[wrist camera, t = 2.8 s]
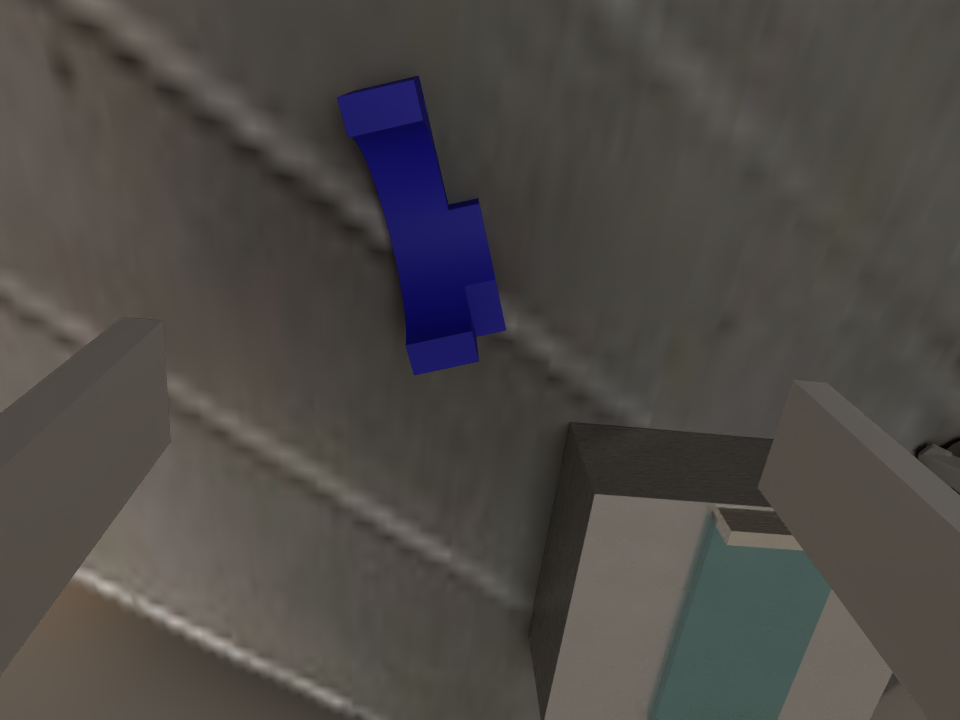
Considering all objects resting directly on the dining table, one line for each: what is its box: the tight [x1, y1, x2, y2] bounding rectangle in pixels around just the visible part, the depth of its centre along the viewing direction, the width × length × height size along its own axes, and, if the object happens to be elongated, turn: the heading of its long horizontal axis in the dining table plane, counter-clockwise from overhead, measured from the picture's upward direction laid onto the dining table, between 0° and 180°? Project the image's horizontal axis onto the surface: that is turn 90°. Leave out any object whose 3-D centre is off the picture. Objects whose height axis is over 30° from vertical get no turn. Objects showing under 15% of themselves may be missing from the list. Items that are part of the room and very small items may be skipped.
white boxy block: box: [529, 422, 893, 720], centre depth 39 cm, size 19×16×9 cm
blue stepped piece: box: [337, 76, 506, 375], centre depth 31 cm, size 12×4×6 cm, turn 12°
